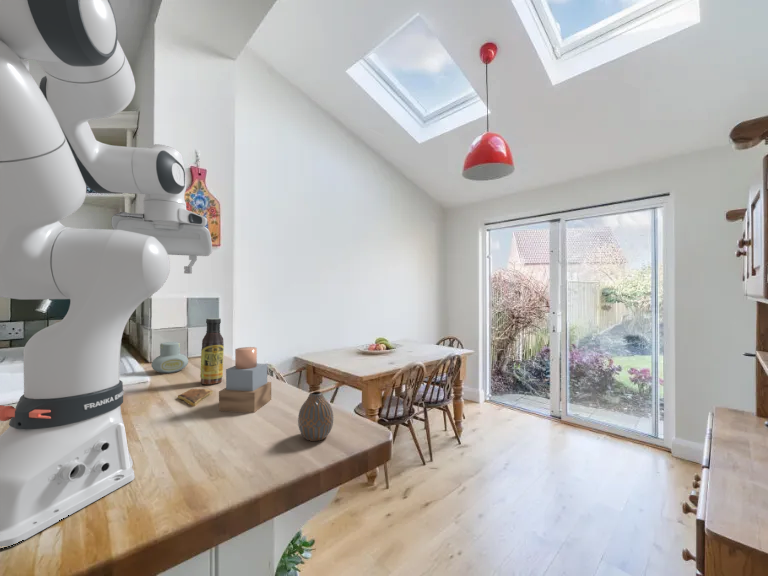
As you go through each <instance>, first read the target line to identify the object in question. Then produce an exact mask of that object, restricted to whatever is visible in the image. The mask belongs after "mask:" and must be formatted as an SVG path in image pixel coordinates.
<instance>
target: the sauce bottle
mask: <svg viewBox="0 0 768 576" xmlns="http://www.w3.org/2000/svg"><path fill="white" fill-rule="evenodd" d="M205 321H206V322H205V323H206V331H205V332H206V333H205V335H204V336H203V338H202V340H201V353H200V377H199V378H200V384H202V385H208V386H209V385H210V386H211V385H217V384H219V383H220V384H221V382H222V381H223V376H224V350H225V346H224V337H223V336H222V333H221V322H222V320H221V318H219V317H215V318H214V317H211V318H210V317H208V318H206V320H205Z"/></svg>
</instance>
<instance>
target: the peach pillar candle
mask: <svg viewBox="0 0 768 576" xmlns="http://www.w3.org/2000/svg"><path fill="white" fill-rule="evenodd" d="M257 349H258V348H257V347H255V346H245V347H238V348H235V351H234V352H235V354H234V356H235V360H234V361H235V363H234V364H235V365H234V366H235V368H237V369H249V368H254V367H256V366H257V363H258V362H257V361H258V355H257V354H258V350H257Z"/></svg>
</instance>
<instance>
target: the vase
mask: <svg viewBox="0 0 768 576" xmlns="http://www.w3.org/2000/svg"><path fill="white" fill-rule="evenodd" d="M297 423H298V424H297V426H298V429H299V433H300V434H301V436H302V437H303V438H305V439H306V440H307V441H309V440H310V441H311V442H318V440H319V441H322V440H324V439H325V438H326V437H328V435H329V434H330V433H331V431H332V429H333V426H334V412H333V408H332V406H331V404H330V403H329V401H328V400H327V399H326V398H325V397H324V395H323V392H322V391H318V390H317V391H311V392H310V393H309V394H308V397H307V398H306V400H305V401H304V402H303V404H302V405H301V407H300V409H299V411H298V416H297Z"/></svg>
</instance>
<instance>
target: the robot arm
mask: <svg viewBox="0 0 768 576" xmlns="http://www.w3.org/2000/svg"><path fill="white" fill-rule="evenodd" d="M29 60H30V61H36V62H37V64H38V66H40V68H41V69H42V70H43V72H44V74H45V75H44V76H43V77H42V78H41V79H40V83H39V85H38V83H37V82H36V80H35V79H34V77H33V76H32V74H31V73H30V61H29ZM135 93H136V82H135V76H134V73H133V70H132V67H131V65H130V61H128V58H127V56H126V54H125V52H124V50H123V48H122V46H121V43H120V41H119V40H118V27H117V21H116V16H115V12H114V9H113V6H112V3H111V1H110V0H0V298H6V299H14V300H69V301H70V303H69V307H68V311H67V313H66V314H65V315H64V317H63V319H61V320H60V321H58V322H55V323H53V324H51V325H49V326H46V327H44V328H42V329H41V330H39V331H37V332H35V333H34V334H33V335H32V336H31V337H30V338H29V340H28V341H27V342H26V343H25V345H24V347H23V353H22V354H23V394H22V395H21V396H19V397H20V398H19V399H18V401H17V403H16V406H13V405H0V421H1V422H6V421H9V423H8V426H9V427H8V428H6V429H5V431H3V433H1V434H0V546H1V547H2V546H10V545H13V544H15V543H18V542H19V541H22V540H24V541H26V540H28V539H30V538H31V537H33V536H34V535H36V534H38V533H40V532H42V531H43V530H45V529H47V528H49V527H51V526H53V525H54V524H56V523H58V522H60V521H61V519H62V520H63V518H64V519H66V518H67V517H69V516H71V515H72V514H74V513H76V512H78V511H80V510H82V509H84V508H85V507H87V506H89V505H91V504H92V503H94V502H97V501H98V500H99V499H101V498H102V497H105V496H107V495H109V494H110V493H112V492H114V491H116V490H118V489H119V488H121V487H123V486H125V485H126V484H129V483H130V482H132V481H134V480H135V471H134V469H133V464H134V462H133V459H132V456H131V454H130V451H129V447H128V441H127V433H126V428H125V424H124V419H123V415H122V410H121V409H122V407H121V405H122V404H124V394H125V392H124V387H123V386H124V384H123V383H124V382H123V381H122V380H121V379H120V364H121V363H120V362H121V361H120V360H121V347H122V338H123V333H124V332H125V331H124V330H125V328H126V325H127V324H128V321H129V320H130V318H131V316H132V314H133V313H134V312H135V311H136V309H137V308H138V307H139V306H140V305H142V303H143V302H144V301H145V300H147V299H148V298H149V297H150V296H153V295H154V294H156V293H157V292H158V291H159V290H160V289H161V288H162V287H163V286H164V285H165V283H166V282H167V280H168V278H169V275H170V271H171V270H170V269H171V261H170V260H171V259H170V256H169V255H171V256H188V260H189V261H190V262H189V263H188V265H187V266H184V267H183V270H184V271H183V274H189V275H190V274H192V272H193V266H194V265H195V263H196V262H197V260H198V257H208V256H210V255H211V254H212V252H213V243H212V236H211V232H210V230H209V229H208V228H207V227H206V226H207V224H208V219H207V217H205V216H203V215H200V214H197V213H195V212H193V211H191V210H188V209H187V202H186V200H185V194H186V190H187V178H186V169H185V168H186V167H185V161H184V158H183V155H182V153H181V152H179V151H178V150H177V149H175V148H174V147H171V146H168V145H165V144H159V143H158V144H156V143H155V144H150V145H149V146H147V147H135V146H123V145H122V146H121V145H113V144H112V145H111V144H108V143H103V142H101V141H99V140H97V139H96V137H95V135H94V132H93V130H92V128H91V126H90V123H89V122H90V121H94V120H101V119H108V118H111V117H113V116H116V115H118V114H120V113H121V112H122V111H124V110H125V109H126V108H127V107H128V106H129V105H130V104H131V102H132V100H133V99H134V96H135ZM87 188H89V189H90V190H92V191H93V192H94V193H98V194H135V195H137V194H138V195H144V197H143V213H137V212H133V213H132V212H126V211H120V212H118V213H114V214H113V215H112V217H111V221H110V223H111V224H110V225H111V226H110V227H111V229H109V228H105V229H102V228H82V227H81V228H79V227H68V226H65V225H64V224H62V223H61V221H62V220H64V219H66V218H67V217H70V216H71V215H72V214H74V213H75V212H77V211H78V210H79V209H81V206H83V204H84V202H85V200H86V197H87ZM68 515H69V516H68ZM59 520H60V521H59ZM22 542H23V541H22ZM18 544H19V543H18ZM13 546H14V545H13ZM10 547H11V546H10Z"/></svg>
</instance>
